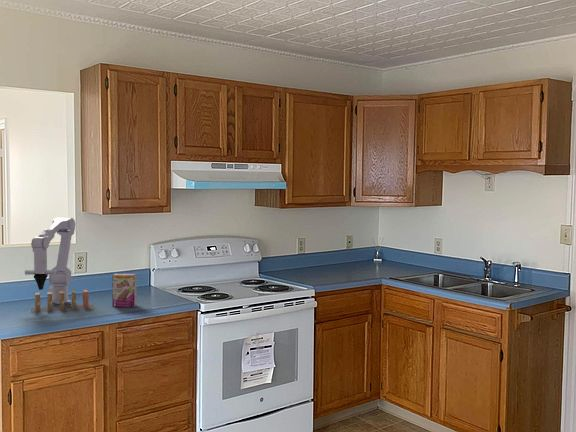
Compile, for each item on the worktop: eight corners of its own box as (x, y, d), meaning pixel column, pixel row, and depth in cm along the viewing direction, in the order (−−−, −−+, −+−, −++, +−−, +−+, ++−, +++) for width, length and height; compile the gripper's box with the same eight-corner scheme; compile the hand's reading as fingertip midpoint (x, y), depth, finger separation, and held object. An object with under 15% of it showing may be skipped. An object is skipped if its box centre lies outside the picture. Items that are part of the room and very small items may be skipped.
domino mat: (30, 314, 277) (30, 313, 277) (31, 308, 288) (31, 307, 288) (94, 309, 287) (94, 308, 287) (93, 304, 298) (93, 303, 298)
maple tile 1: (35, 311, 281) (34, 294, 280) (35, 308, 285) (35, 292, 285) (39, 310, 282) (39, 294, 281) (40, 308, 286) (40, 292, 286)
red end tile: (84, 307, 288) (84, 291, 288) (83, 305, 293) (82, 290, 292) (88, 307, 289) (88, 291, 289) (87, 305, 294) (87, 289, 293)
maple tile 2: (47, 310, 283) (47, 294, 282) (48, 308, 287) (47, 292, 287) (52, 310, 283) (51, 293, 283) (52, 307, 288) (52, 291, 288)
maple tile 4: (71, 308, 287) (71, 292, 286) (71, 306, 291) (71, 290, 291) (76, 308, 287) (75, 292, 287) (76, 306, 292) (75, 290, 291)
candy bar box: (112, 307, 292) (111, 275, 291) (114, 305, 297) (114, 273, 296) (134, 307, 293) (134, 275, 292) (136, 305, 298) (136, 273, 297)
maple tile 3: (59, 309, 285) (59, 293, 284) (60, 307, 289) (59, 291, 289) (64, 309, 285) (63, 293, 285) (64, 307, 290) (64, 291, 289)
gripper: (21, 262, 278) (22, 290, 279) (52, 262, 279) (53, 291, 280) (27, 260, 285) (28, 288, 286) (57, 260, 286) (58, 288, 287)
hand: (40, 289), depth 283 cm, fingers closed
